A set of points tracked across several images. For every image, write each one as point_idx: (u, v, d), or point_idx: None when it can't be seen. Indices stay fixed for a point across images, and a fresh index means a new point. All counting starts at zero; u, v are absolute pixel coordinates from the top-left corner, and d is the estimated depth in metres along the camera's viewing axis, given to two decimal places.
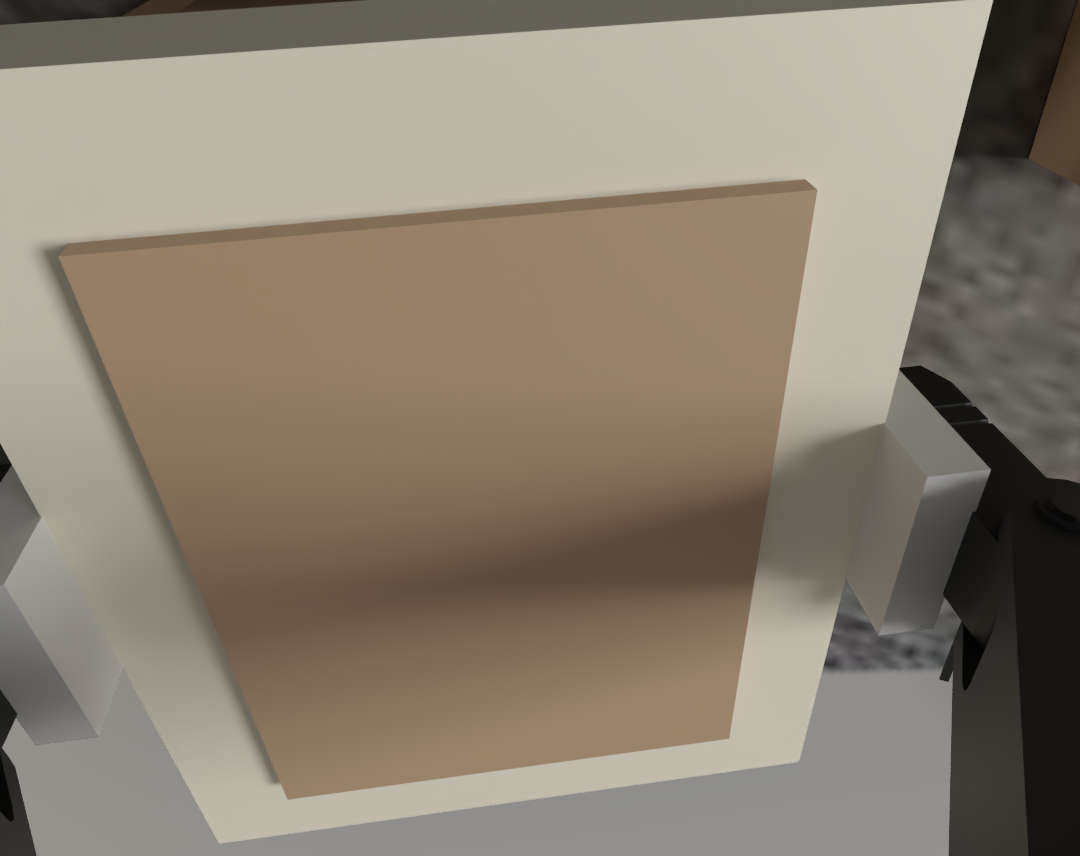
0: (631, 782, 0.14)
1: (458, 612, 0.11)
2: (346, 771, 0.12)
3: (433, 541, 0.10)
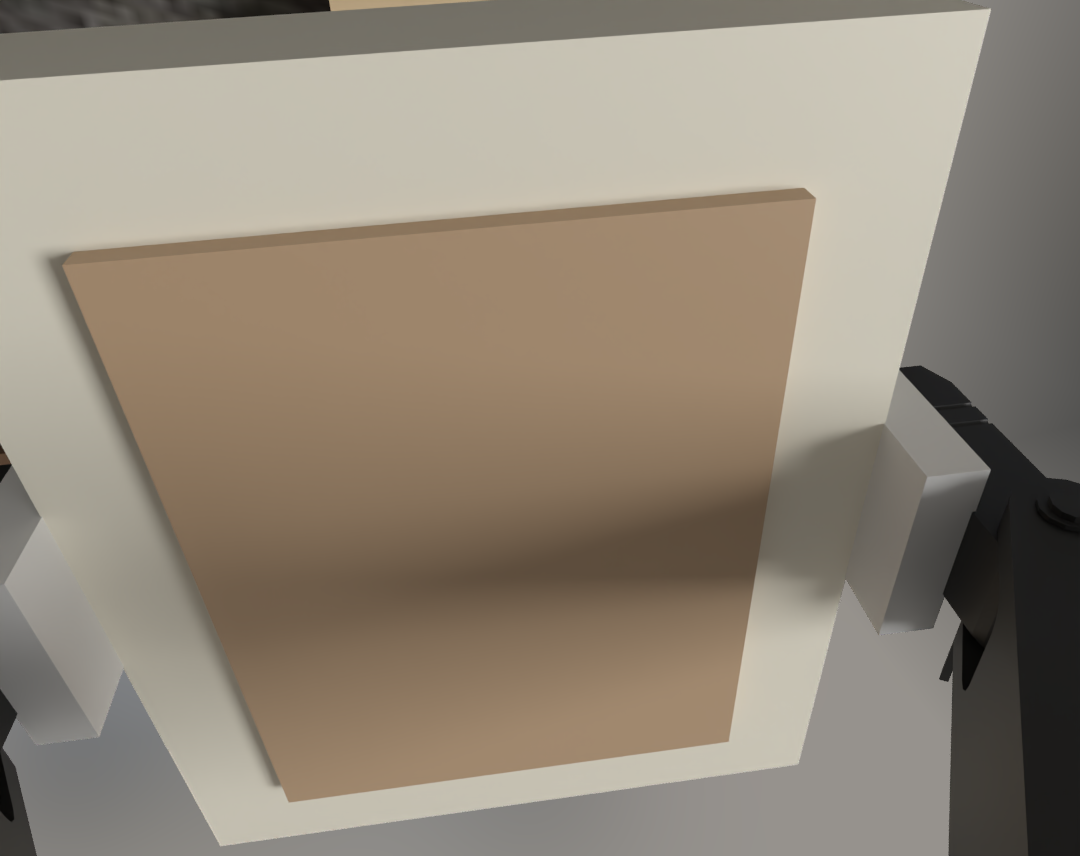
0: (631, 785, 0.14)
1: (458, 616, 0.11)
2: (347, 774, 0.12)
3: (434, 546, 0.10)
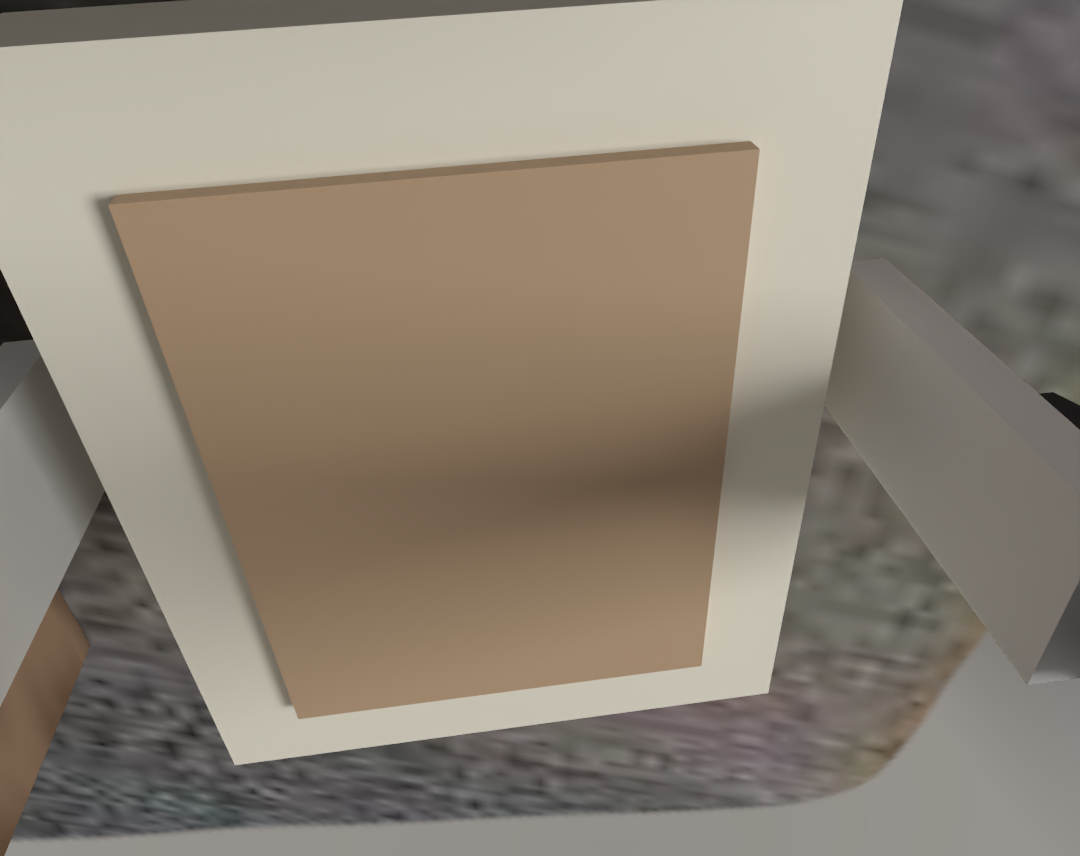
0: (613, 710, 0.15)
1: (452, 538, 0.12)
2: (352, 692, 0.13)
3: (429, 469, 0.11)
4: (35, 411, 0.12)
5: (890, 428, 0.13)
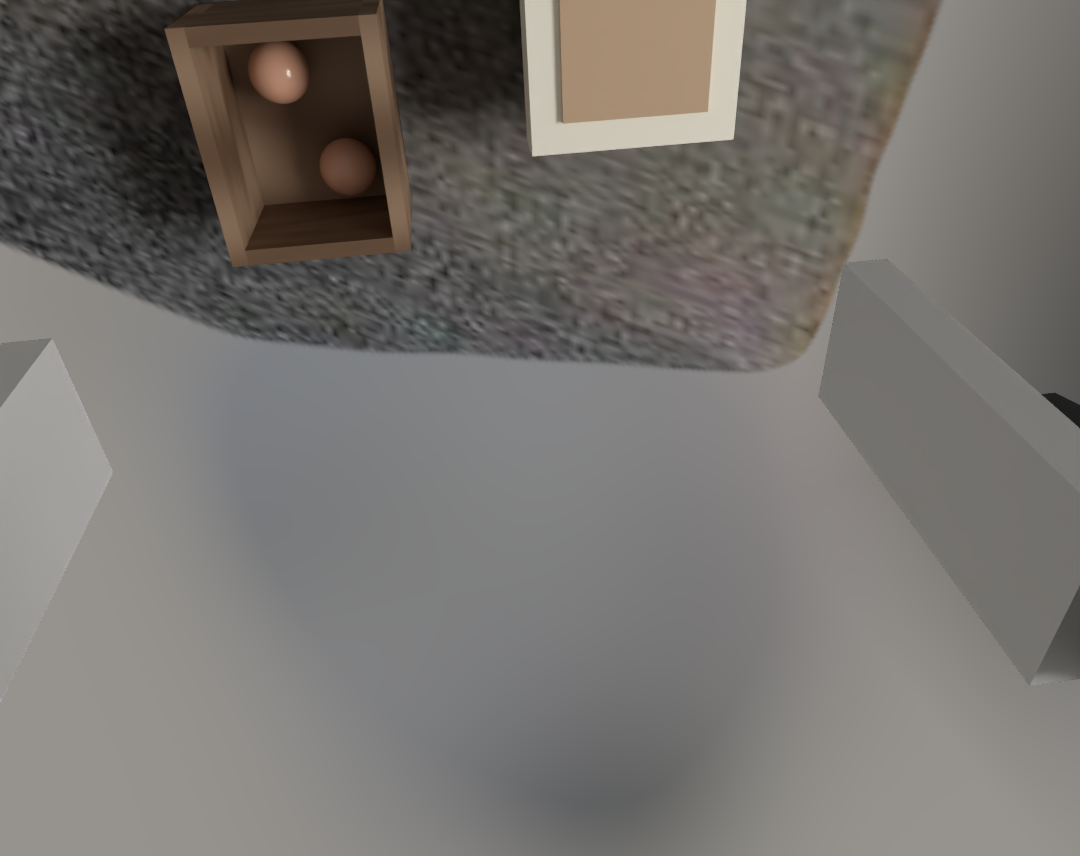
0: (674, 142, 0.40)
1: (627, 32, 0.36)
2: (583, 110, 0.38)
3: (624, 0, 0.35)
4: (34, 413, 0.12)
5: (892, 429, 0.13)
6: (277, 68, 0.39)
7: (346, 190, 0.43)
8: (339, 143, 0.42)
